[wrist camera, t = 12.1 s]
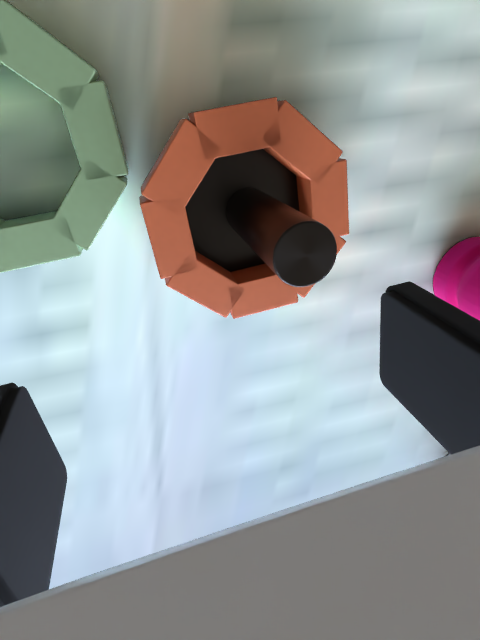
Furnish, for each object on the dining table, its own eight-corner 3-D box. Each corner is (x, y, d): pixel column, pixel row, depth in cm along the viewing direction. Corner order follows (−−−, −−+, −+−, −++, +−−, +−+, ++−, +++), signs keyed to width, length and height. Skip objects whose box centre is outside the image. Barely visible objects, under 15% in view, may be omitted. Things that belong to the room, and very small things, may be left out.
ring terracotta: (172, 318, 28) (176, 334, 26) (119, 125, 23) (118, 126, 20) (335, 277, 30) (351, 288, 28) (326, 87, 24) (344, 84, 22)
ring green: (-57, 274, 25) (-74, 288, 23) (-187, 29, 19) (-227, 17, 17) (145, 232, 26) (146, 241, 24) (82, -4, 21) (77, -19, 18)
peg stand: (198, 276, 29) (232, 354, 19) (173, 156, 25) (199, 178, 15) (304, 252, 30) (387, 314, 20) (295, 133, 26) (391, 140, 16)
